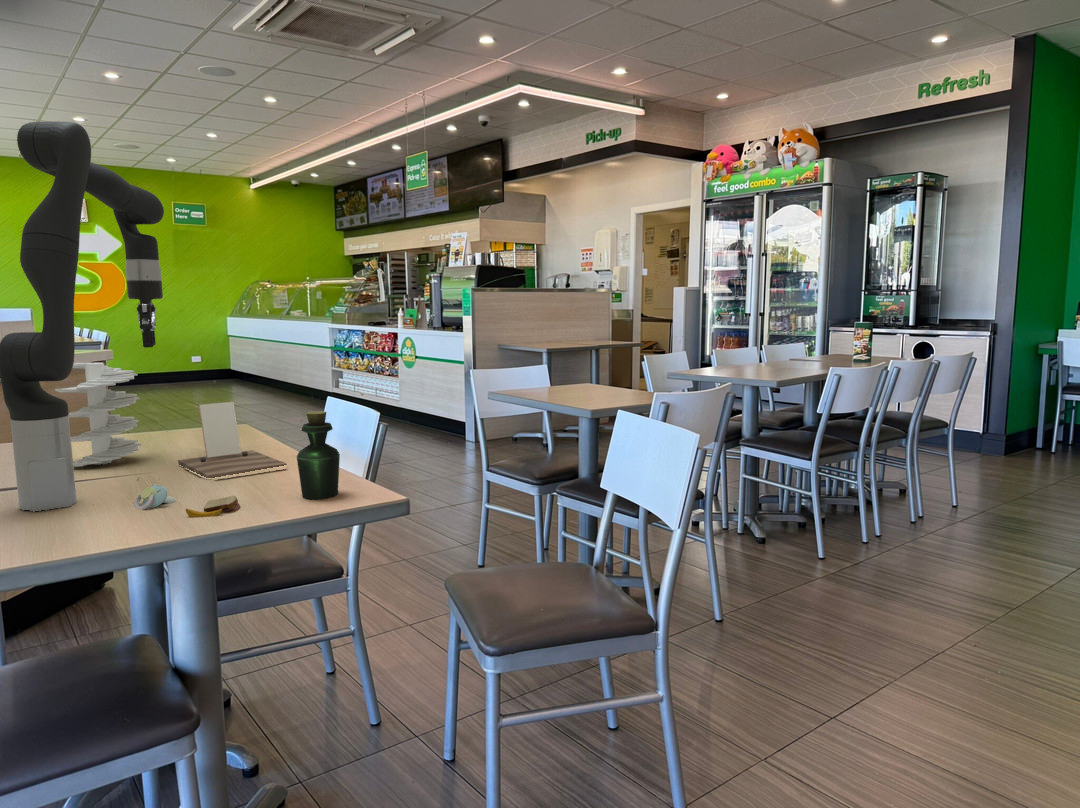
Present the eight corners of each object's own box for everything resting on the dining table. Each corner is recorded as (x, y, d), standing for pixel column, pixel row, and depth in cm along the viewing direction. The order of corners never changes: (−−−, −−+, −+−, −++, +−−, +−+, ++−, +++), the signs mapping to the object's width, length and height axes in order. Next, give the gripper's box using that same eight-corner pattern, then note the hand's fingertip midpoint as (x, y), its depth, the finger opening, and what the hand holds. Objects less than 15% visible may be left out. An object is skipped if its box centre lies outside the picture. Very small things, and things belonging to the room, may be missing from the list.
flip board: (287, 469, 175) (286, 458, 175) (208, 482, 163) (207, 470, 163) (252, 455, 191) (251, 445, 191) (178, 466, 180) (177, 455, 179)
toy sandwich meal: (190, 513, 140) (189, 495, 139) (246, 511, 141) (245, 493, 141) (172, 528, 130) (171, 508, 130) (232, 525, 132) (231, 506, 131)
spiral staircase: (155, 461, 185) (148, 362, 181) (76, 474, 172) (66, 367, 168) (127, 452, 197) (120, 359, 193) (51, 463, 184) (42, 363, 180)
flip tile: (240, 453, 184) (241, 453, 183) (206, 457, 178) (207, 457, 178) (232, 402, 184) (233, 401, 184) (198, 405, 179) (199, 404, 178)
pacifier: (126, 506, 140) (146, 479, 143) (154, 521, 144) (173, 494, 147) (141, 512, 136) (161, 484, 138) (169, 528, 140) (188, 500, 142)
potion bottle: (320, 495, 151) (316, 408, 149) (350, 500, 148) (346, 411, 145) (290, 504, 144) (285, 413, 142) (320, 509, 140) (316, 416, 138)
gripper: (160, 278, 173) (165, 347, 175) (162, 280, 186) (167, 344, 188) (123, 278, 170) (129, 348, 172) (129, 279, 183) (134, 345, 185)
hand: (149, 346), depth 180 cm, fingers open, 8 cm apart
